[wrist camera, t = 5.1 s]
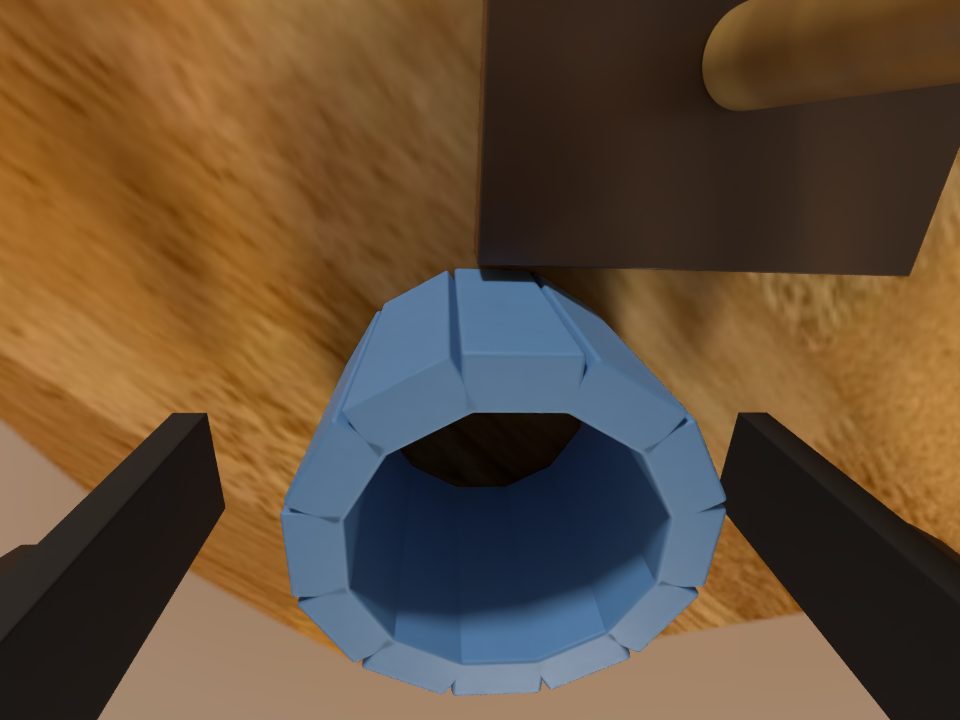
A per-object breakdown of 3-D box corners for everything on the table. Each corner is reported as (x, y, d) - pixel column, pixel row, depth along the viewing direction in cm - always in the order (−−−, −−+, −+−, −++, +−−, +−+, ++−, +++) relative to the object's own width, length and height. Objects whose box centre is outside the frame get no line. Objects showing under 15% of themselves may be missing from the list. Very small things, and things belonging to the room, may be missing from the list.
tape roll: (640, 272, 13) (775, 356, 8) (599, 511, 17) (675, 689, 11) (336, 264, 13) (254, 349, 7) (354, 514, 16) (306, 703, 11)
